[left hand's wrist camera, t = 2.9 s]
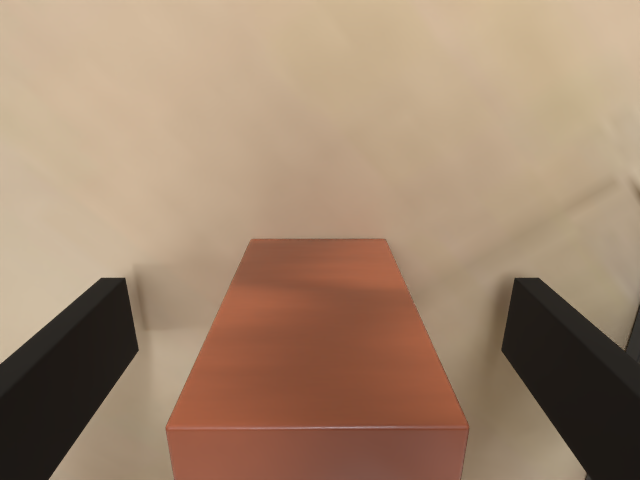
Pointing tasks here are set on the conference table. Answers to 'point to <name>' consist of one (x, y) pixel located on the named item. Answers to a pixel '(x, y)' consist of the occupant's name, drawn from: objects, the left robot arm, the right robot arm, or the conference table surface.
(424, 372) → the block
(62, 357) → the left robot arm
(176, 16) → the conference table surface
